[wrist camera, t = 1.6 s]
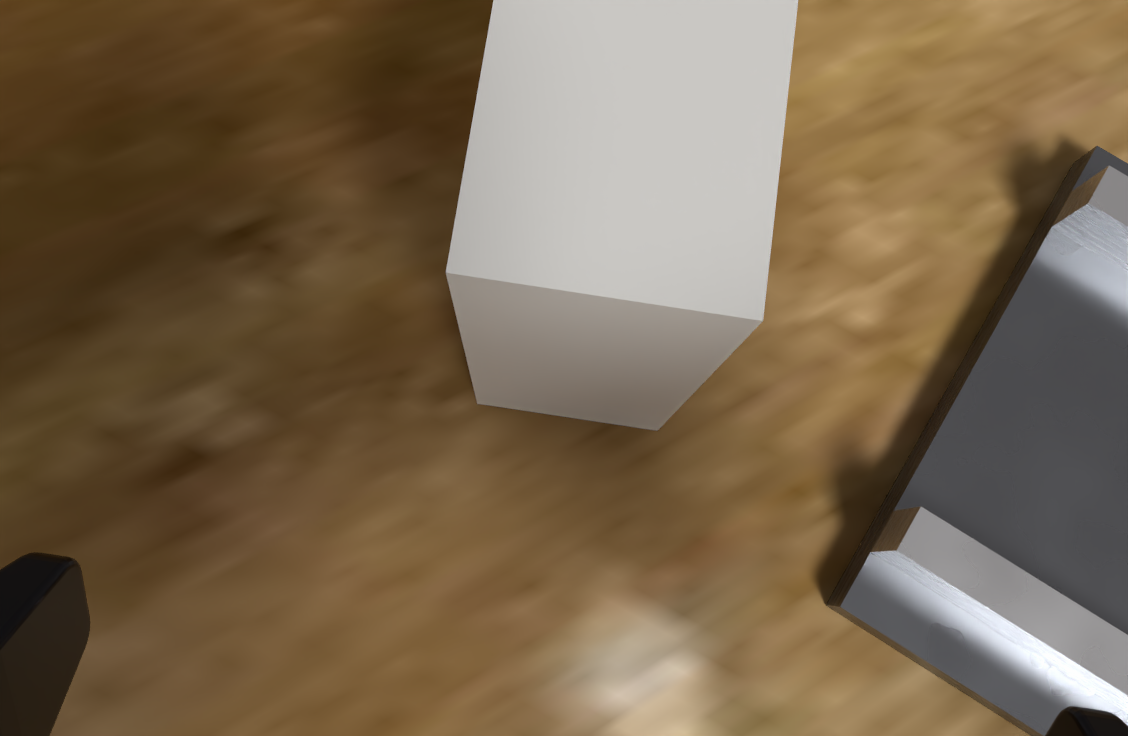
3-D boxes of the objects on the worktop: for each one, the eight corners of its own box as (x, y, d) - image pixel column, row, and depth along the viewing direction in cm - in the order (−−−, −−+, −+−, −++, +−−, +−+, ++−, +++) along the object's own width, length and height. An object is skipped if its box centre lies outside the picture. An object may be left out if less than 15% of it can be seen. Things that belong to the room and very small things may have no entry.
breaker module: (657, 430, 23) (762, 321, 13) (477, 403, 23) (445, 272, 13) (688, 192, 24) (806, -76, 14) (516, 166, 24) (514, -121, 14)
